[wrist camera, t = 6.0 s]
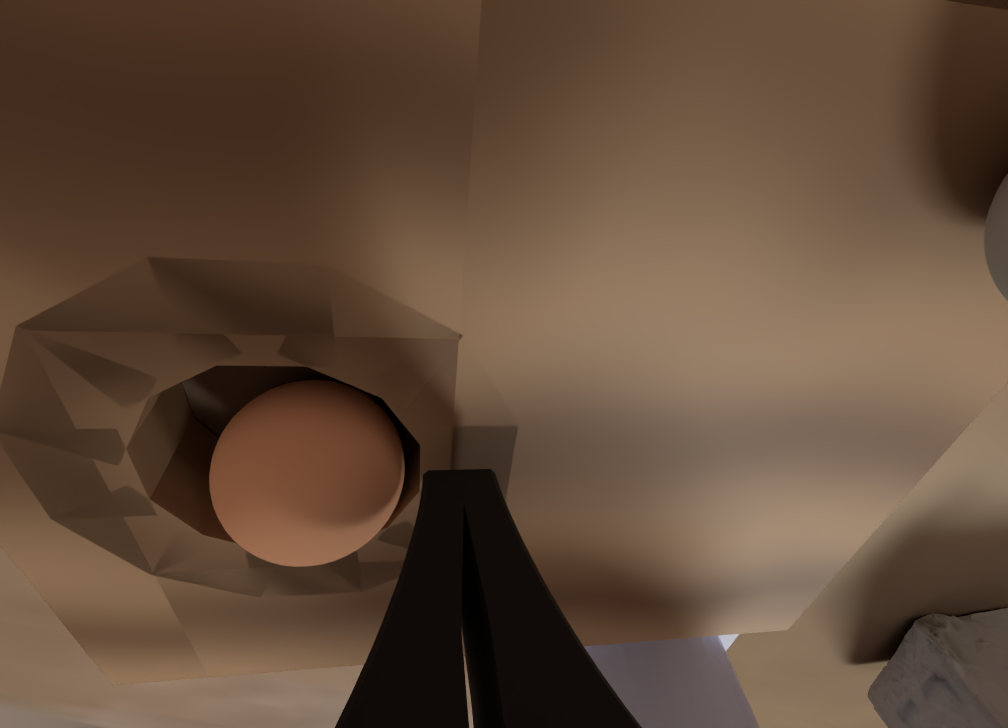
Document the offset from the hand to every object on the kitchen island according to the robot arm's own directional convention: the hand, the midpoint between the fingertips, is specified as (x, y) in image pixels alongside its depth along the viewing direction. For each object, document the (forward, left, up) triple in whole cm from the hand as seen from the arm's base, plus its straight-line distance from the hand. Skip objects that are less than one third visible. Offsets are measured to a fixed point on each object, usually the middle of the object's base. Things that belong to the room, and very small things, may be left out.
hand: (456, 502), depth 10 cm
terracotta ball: (0, +3, -1) cm, 3 cm away
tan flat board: (0, -2, -3) cm, 4 cm away
